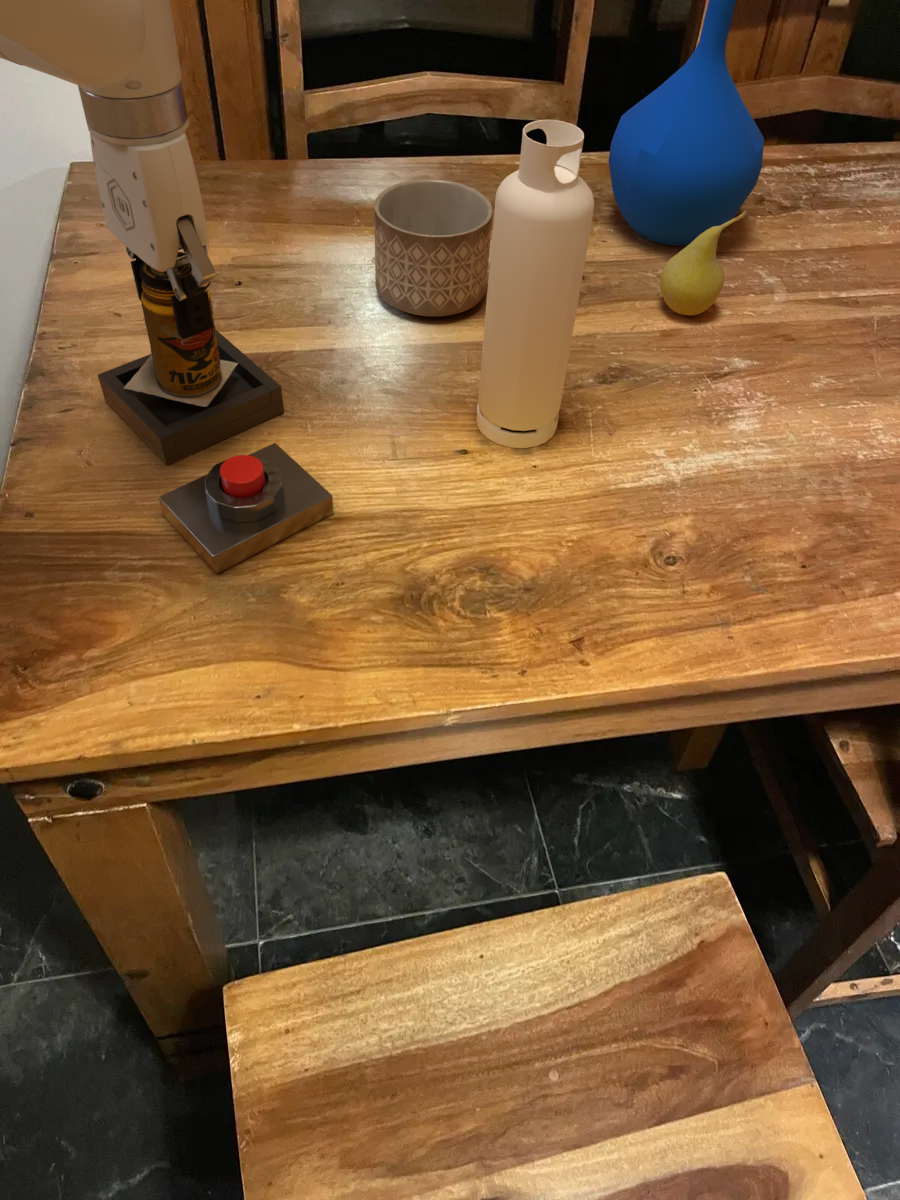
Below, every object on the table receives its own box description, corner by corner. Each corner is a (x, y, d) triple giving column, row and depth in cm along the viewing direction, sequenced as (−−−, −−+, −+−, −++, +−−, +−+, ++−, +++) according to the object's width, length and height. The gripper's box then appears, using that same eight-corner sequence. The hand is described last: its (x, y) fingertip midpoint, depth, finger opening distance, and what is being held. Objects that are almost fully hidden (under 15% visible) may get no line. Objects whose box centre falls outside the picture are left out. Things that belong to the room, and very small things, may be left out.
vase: (760, 262, 116) (850, -14, 93) (617, 266, 113) (674, -15, 91) (713, 191, 127) (783, -69, 105) (583, 194, 125) (625, -72, 102)
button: (237, 504, 78) (234, 489, 77) (214, 481, 80) (211, 466, 79) (273, 486, 80) (271, 471, 79) (250, 464, 82) (248, 449, 80)
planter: (404, 335, 102) (406, 246, 94) (357, 278, 109) (355, 190, 101) (505, 309, 106) (514, 222, 98) (453, 256, 113) (458, 170, 105)
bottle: (516, 386, 97) (551, 102, 76) (573, 425, 93) (627, 137, 72) (459, 418, 93) (479, 127, 72) (516, 459, 89) (555, 166, 68)
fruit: (648, 293, 110) (672, 193, 101) (710, 293, 111) (739, 194, 101) (662, 326, 106) (688, 225, 96) (726, 325, 106) (758, 224, 97)
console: (216, 574, 78) (210, 541, 75) (162, 515, 82) (153, 481, 79) (333, 513, 83) (331, 480, 80) (277, 460, 88) (273, 426, 85)
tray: (166, 466, 86) (160, 439, 84) (105, 401, 92) (97, 374, 90) (284, 412, 92) (281, 386, 90) (219, 355, 98) (215, 328, 95)
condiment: (207, 408, 87) (189, 292, 78) (123, 389, 88) (95, 273, 79) (238, 365, 92) (224, 250, 83) (158, 347, 93) (136, 233, 84)
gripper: (37, 77, 73) (92, 286, 87) (146, 160, 65) (188, 376, 78) (125, 58, 76) (165, 261, 90) (239, 134, 68) (264, 345, 82)
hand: (175, 313), depth 84 cm, fingers open, 6 cm apart
